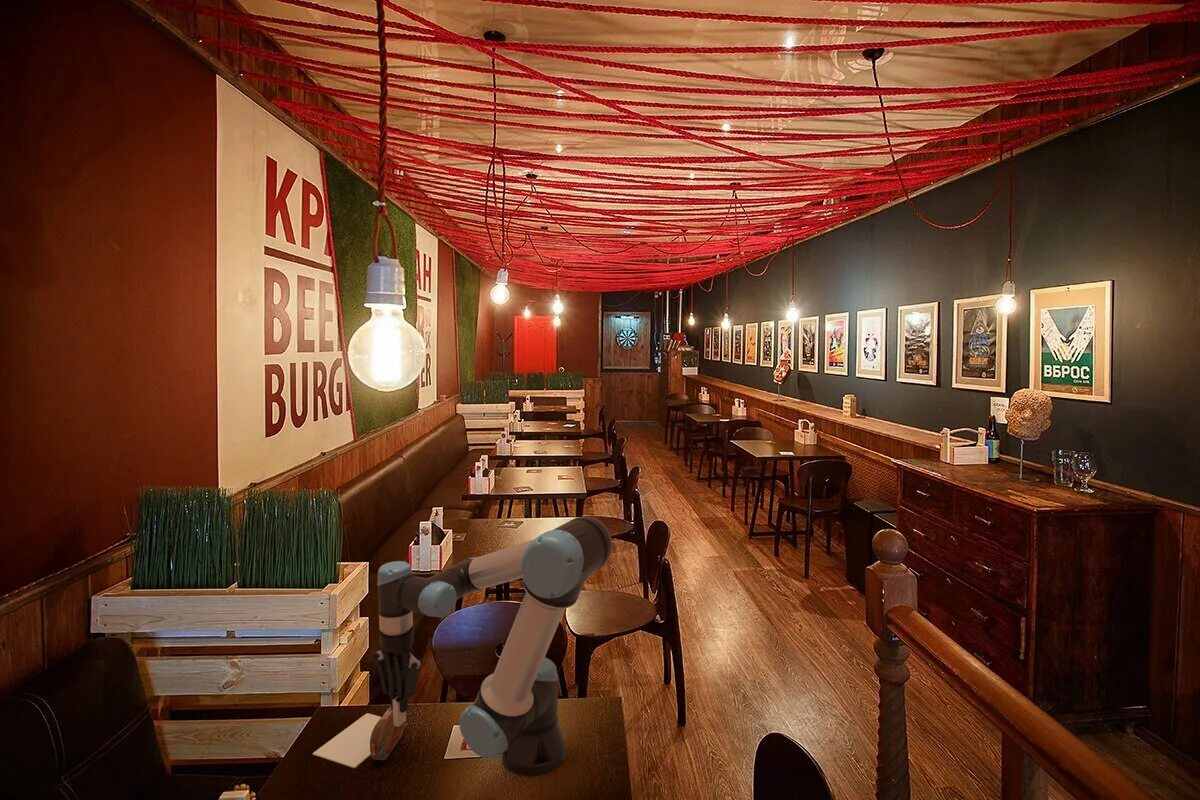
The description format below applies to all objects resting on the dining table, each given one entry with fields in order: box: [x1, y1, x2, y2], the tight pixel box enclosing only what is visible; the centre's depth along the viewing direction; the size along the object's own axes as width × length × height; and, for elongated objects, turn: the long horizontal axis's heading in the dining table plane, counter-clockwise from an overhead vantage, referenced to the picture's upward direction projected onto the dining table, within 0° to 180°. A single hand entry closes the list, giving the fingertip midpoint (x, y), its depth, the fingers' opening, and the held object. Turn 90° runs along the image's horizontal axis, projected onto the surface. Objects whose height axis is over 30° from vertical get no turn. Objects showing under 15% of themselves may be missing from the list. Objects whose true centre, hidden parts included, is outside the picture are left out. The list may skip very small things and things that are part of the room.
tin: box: [370, 705, 407, 762], centre depth 157 cm, size 15×3×8 cm, turn 172°
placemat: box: [312, 713, 407, 769], centre depth 161 cm, size 13×18×1 cm
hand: (399, 723), depth 156 cm, fingers closed
